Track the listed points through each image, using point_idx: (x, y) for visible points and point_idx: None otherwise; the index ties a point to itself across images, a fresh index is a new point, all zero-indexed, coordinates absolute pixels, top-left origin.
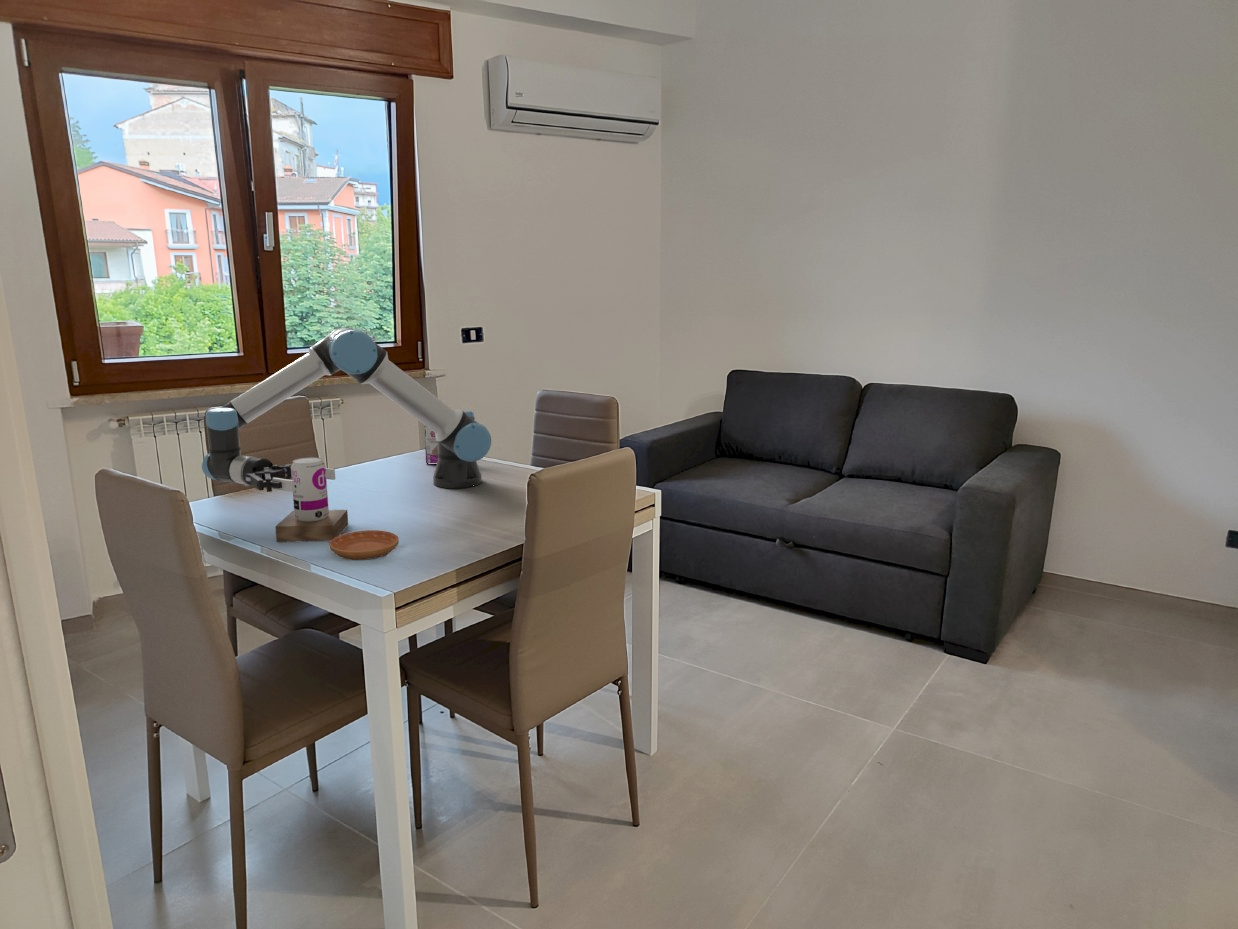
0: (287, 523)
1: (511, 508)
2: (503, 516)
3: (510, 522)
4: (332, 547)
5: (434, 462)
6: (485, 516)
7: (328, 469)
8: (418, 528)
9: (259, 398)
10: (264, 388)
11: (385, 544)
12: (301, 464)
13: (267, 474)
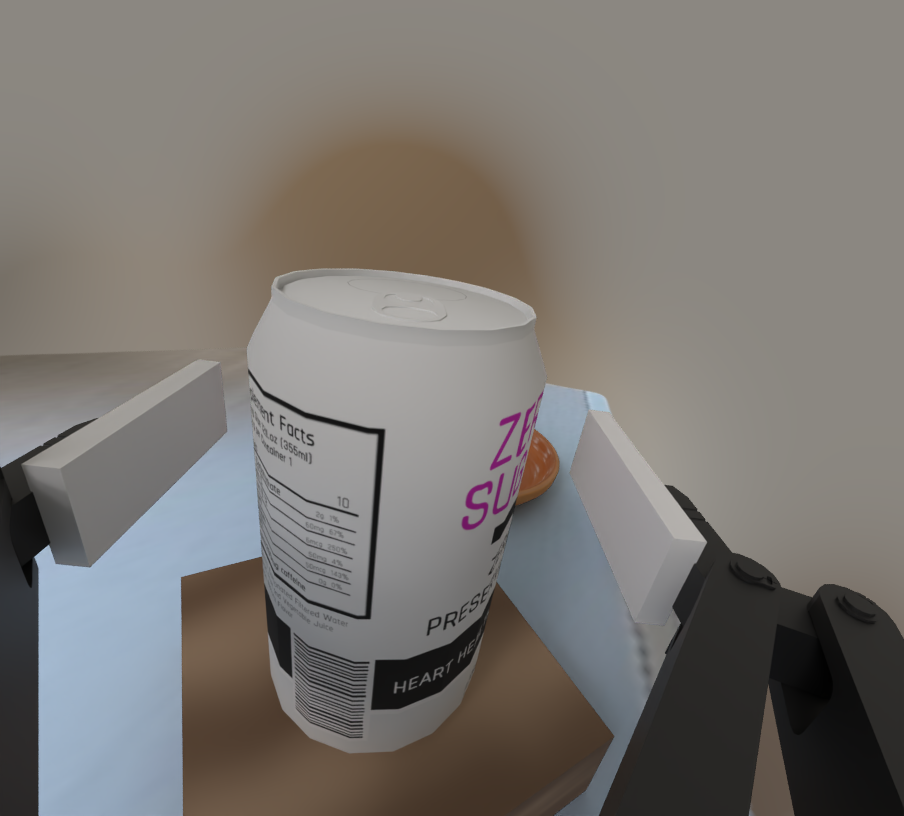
0: (531, 707)
1: (43, 358)
2: (130, 360)
3: (188, 352)
4: (557, 469)
5: None
6: (123, 377)
7: (199, 379)
8: (245, 439)
9: None
10: None
11: None
12: (516, 310)
13: (687, 797)
